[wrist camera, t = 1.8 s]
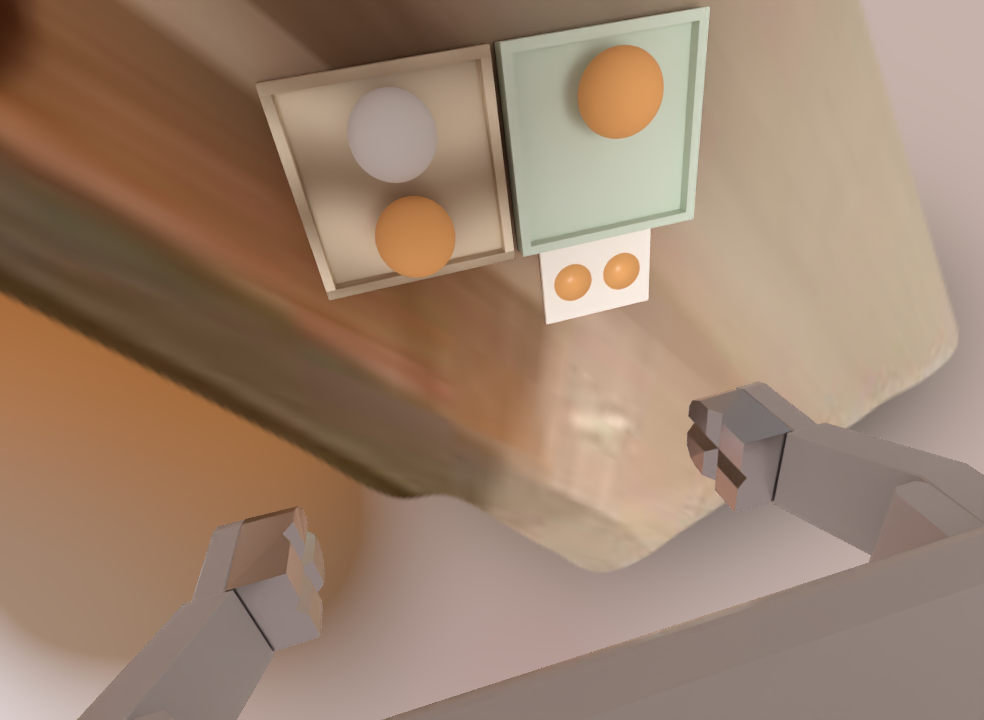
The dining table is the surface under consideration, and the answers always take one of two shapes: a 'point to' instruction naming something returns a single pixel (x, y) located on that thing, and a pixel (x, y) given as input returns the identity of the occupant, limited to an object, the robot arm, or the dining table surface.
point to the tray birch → (362, 198)
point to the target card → (595, 276)
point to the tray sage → (588, 156)
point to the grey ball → (392, 134)
